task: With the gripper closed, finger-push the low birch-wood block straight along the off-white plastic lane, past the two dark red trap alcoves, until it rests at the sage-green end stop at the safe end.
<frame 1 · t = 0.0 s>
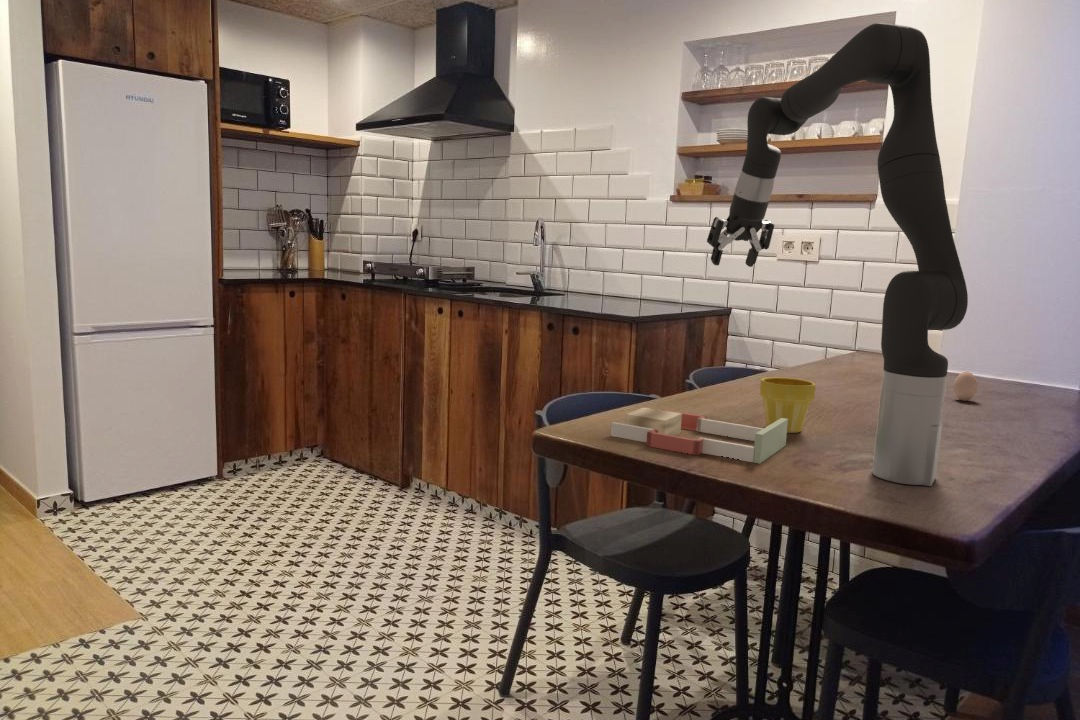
hand: (732, 264, 180), 31 cm above the table, tool tilted 20°, fingers open, 8 cm apart
birch block: (652, 434, 154), on the table
egg: (963, 401, 202), on the table
plant pot: (783, 430, 162), on the table
trap lane: (697, 440, 150), on the table
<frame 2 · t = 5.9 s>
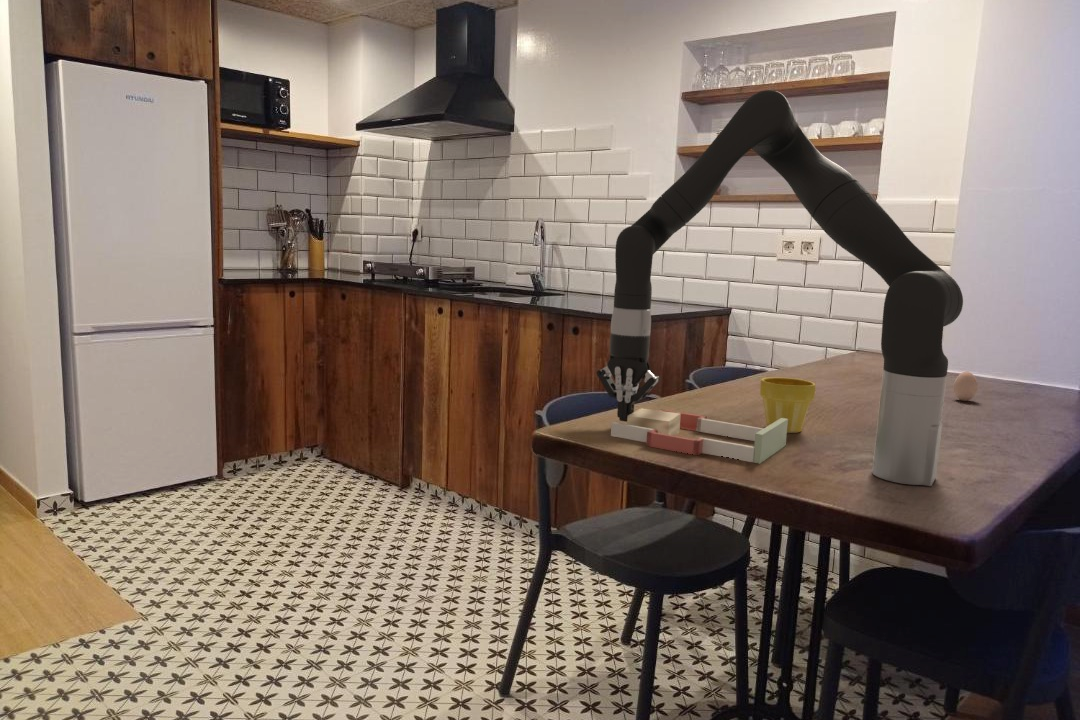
hand: (624, 420, 157), 1 cm above the table, tool pointing down, fingers closed
birch block: (653, 435, 154), on the table, touching gripper
everything else where it was.
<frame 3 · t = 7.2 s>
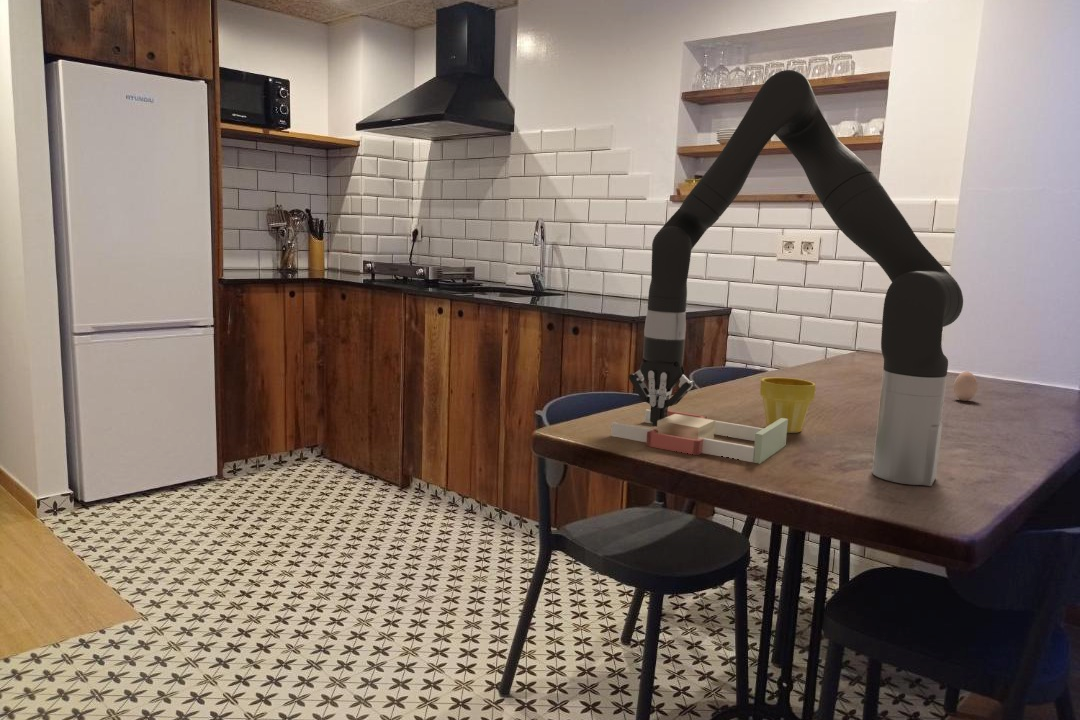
hand: (657, 425, 154), 2 cm above the table, tool pointing down, fingers closed
birch block: (684, 441, 150), on the table
everything else where it was.
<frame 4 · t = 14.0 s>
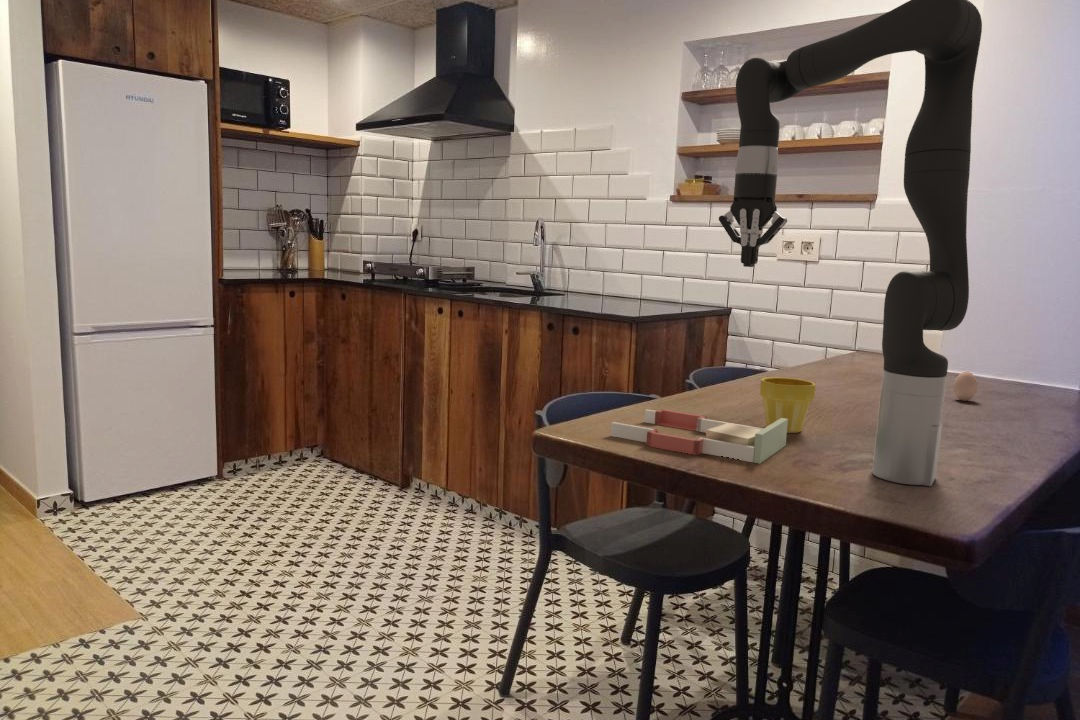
hand: (748, 266, 153), 32 cm above the table, tool pointing down, fingers closed
birch block: (735, 452, 144), on the table
everything else where it was.
at the end: birch block 2.3 cm from the target spot, on the table; birch block tilted 0° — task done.
